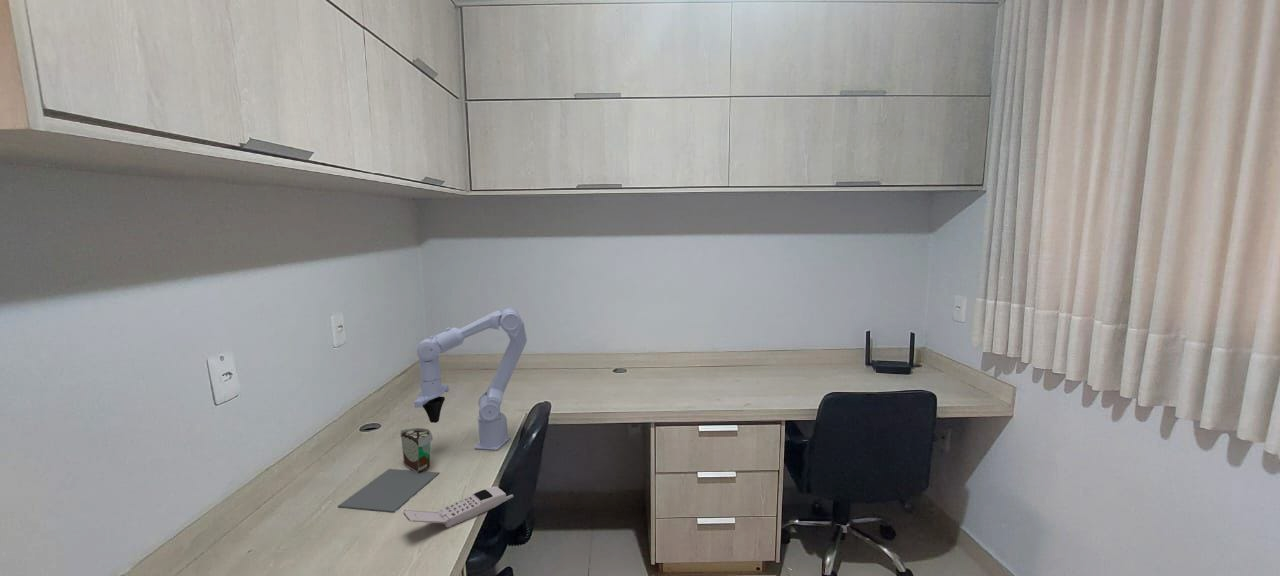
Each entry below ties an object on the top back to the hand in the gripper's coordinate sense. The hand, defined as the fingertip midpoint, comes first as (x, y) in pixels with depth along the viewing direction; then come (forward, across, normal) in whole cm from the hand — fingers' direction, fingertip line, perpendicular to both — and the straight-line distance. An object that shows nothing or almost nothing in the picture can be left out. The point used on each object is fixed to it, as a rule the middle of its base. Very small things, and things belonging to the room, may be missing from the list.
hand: (434, 421), depth 152 cm
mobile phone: (+11, +29, +26) cm, 40 cm away
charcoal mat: (+10, +21, 0) cm, 23 cm away
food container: (+10, +8, 0) cm, 13 cm away
